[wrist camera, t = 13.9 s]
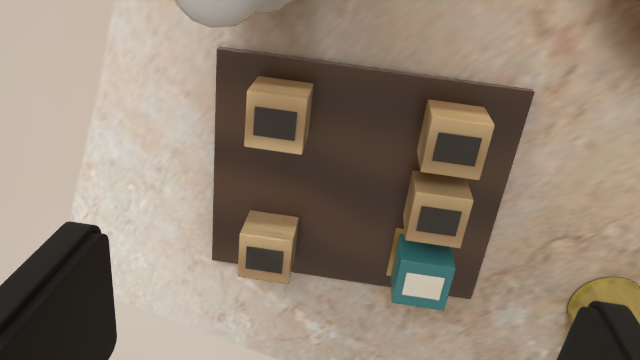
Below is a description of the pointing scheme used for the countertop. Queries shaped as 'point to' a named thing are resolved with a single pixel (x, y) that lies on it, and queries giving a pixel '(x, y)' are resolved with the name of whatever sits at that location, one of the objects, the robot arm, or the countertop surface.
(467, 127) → the tile
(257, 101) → the light wood cube
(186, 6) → the salt shaker
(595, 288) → the vase
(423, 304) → the tile
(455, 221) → the tile
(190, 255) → the countertop surface
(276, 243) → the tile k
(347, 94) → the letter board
